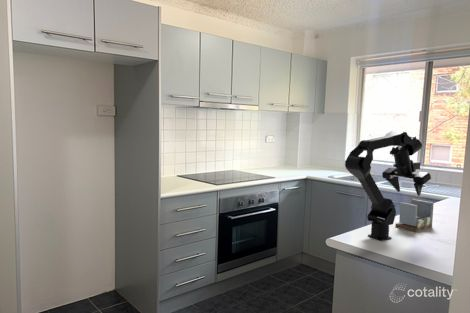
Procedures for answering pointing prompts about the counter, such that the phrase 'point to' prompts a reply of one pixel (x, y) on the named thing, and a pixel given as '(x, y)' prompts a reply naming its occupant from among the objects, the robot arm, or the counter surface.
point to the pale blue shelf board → (408, 214)
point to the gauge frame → (421, 225)
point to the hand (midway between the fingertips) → (408, 193)
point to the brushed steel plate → (423, 209)
